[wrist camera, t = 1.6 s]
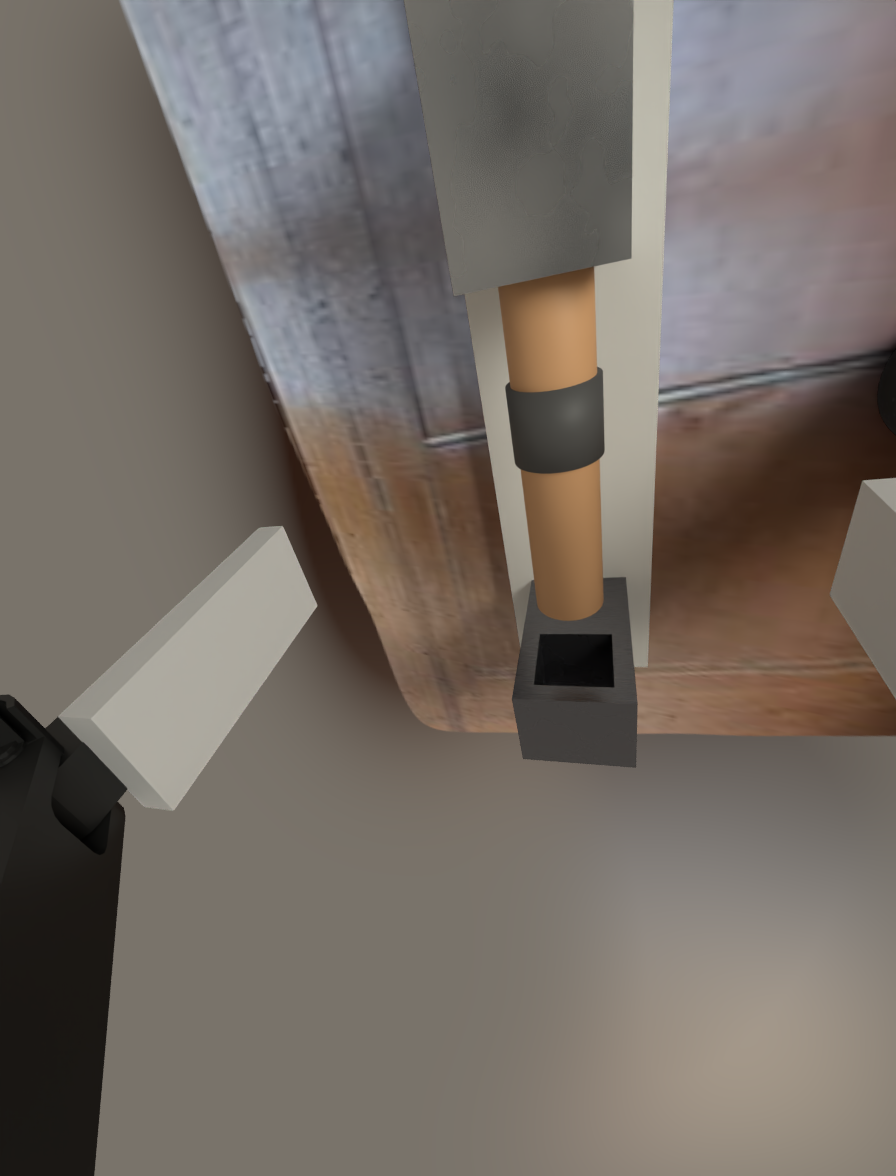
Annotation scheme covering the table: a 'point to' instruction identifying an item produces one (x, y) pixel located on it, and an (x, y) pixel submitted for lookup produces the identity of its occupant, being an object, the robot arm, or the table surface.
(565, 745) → the charcoal socket
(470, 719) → the table surface
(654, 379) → the baseboard
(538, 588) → the orange tube
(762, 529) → the table surface
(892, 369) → the travel mug
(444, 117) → the light grey block
